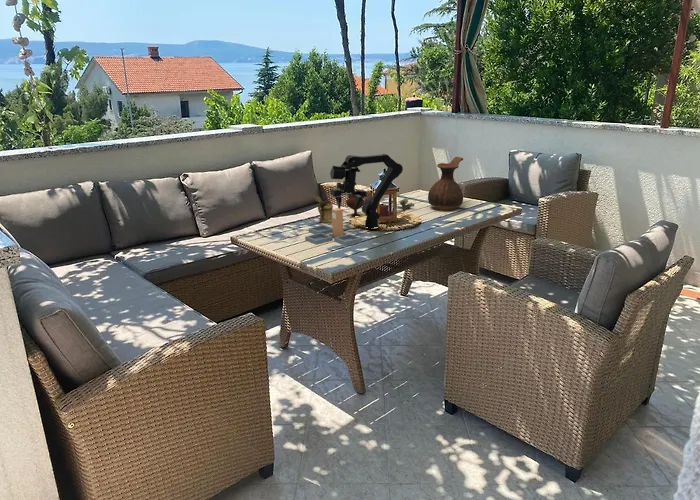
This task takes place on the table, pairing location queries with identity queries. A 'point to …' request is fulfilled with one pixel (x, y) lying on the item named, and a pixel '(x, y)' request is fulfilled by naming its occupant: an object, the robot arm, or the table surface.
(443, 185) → the jug
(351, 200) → the ice cream bowl
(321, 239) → the tray
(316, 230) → the empty tray
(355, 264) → the table surface
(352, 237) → the empty tray
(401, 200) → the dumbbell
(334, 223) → the orange block
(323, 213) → the wooden mug
